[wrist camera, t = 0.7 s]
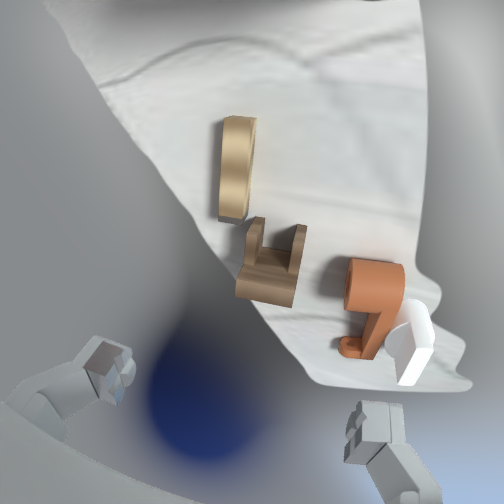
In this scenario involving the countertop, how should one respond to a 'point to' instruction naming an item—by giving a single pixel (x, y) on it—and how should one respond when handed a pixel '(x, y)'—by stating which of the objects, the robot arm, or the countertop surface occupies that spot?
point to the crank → (372, 303)
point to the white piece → (410, 341)
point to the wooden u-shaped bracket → (269, 268)
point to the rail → (236, 168)
